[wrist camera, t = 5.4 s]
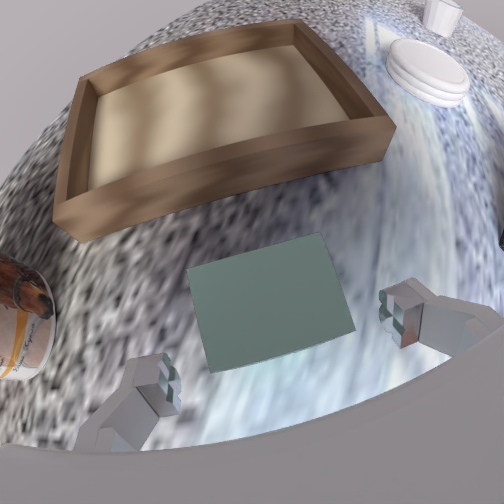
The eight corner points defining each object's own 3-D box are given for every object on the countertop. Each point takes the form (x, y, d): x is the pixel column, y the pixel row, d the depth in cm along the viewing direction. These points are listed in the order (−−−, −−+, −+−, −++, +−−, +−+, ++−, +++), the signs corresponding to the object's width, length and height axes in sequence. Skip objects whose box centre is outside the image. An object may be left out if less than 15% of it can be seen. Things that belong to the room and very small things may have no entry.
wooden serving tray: (81, 243, 20) (52, 221, 17) (93, 101, 27) (79, 77, 23) (381, 160, 21) (396, 126, 17) (299, 46, 28) (299, 18, 24)
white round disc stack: (385, 49, 28) (390, 28, 25) (453, 76, 26) (462, 57, 23) (384, 89, 25) (392, 64, 21) (466, 122, 23) (479, 101, 20)
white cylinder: (460, 41, 31) (471, 12, 24) (437, 37, 30) (447, 5, 24) (435, 21, 33) (443, -6, 26) (411, 18, 33) (418, -13, 26)
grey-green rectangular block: (244, 366, 17) (210, 373, 7) (231, 319, 18) (186, 269, 8) (310, 347, 17) (355, 330, 7) (295, 300, 18) (320, 231, 8)
